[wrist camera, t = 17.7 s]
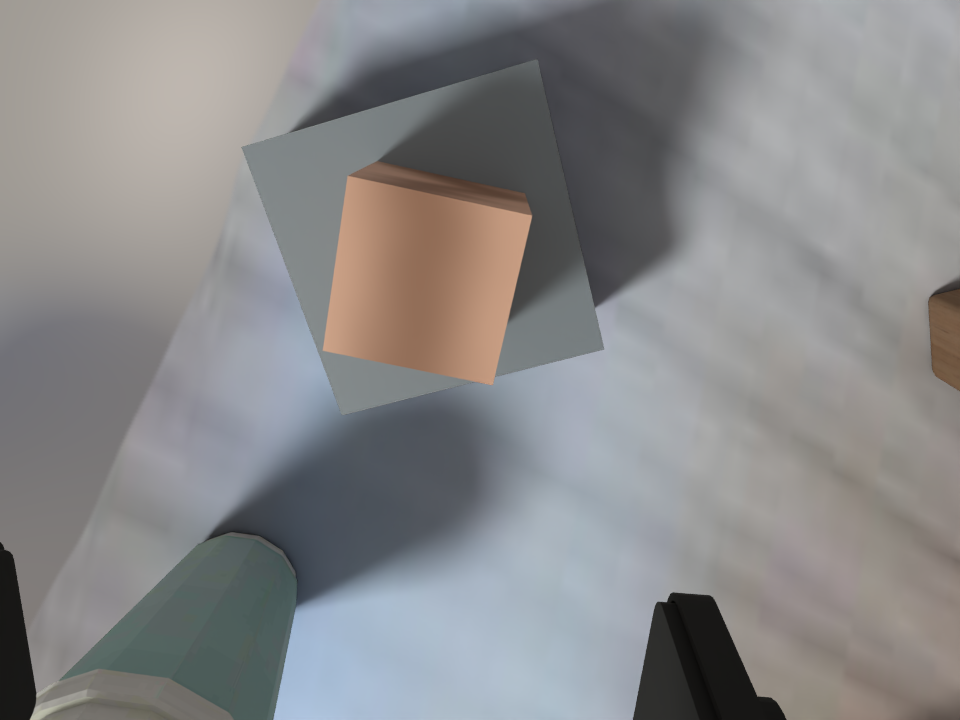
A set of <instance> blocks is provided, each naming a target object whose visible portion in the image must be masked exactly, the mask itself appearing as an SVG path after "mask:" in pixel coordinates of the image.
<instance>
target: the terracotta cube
mask: <svg viewBox="0 0 960 720" xmlns="http://www.w3.org/2000/svg"><path fill="white" fill-rule="evenodd" d="M531 219H532V213H531V210H530V207H529V204H528V201H527V198H526V195H525V193H521V192H517V191H512V190H508V189H503V188H498V187H494V186H489V185H485V184H480V183H475V182H471V181H466V180H462V179H457V178H452V177H448V176H443V175H439V174H434V173H429V172H425V171H420V170H416V169H411V168H407V167H402V166H397V165H393V164H388V163H384V162H379V161H376V162H374V163H372V164H370V165H368V166H366V167H364V168H362V169H360V170H358V171H356V172H354V173H352V174H350V175H348V177H347V184H346V191H345V198H344V205H343V212H342V219H341V226H340V233H339V240H338V247H337V254H336V261H335V268H334V275H333V282H332V289H331V296H330V303H329V310H328V317H327V324H326V331H325V338H324V345H323V351H326V352H331V353H336V354H341V355H346V356H351V357H356V358H361V359H366V360H371V361H376V362H381V363H386V364H391V365H395V366H400V367H405V368H410V369H415V370H420V371H425V372H430V373H435V374H440V375H445V376H450V377H455V378H460V379H465V380H470V381H474V382H479V383H484V384H489V385H493V382H494V378H495V373H496V369H497V365H498V360H499V356H500V352H501V348H502V343H503V339H504V335H505V330H506V326H507V322H508V318H509V313H510V309H511V305H512V300H513V296H514V292H515V288H516V283H517V279H518V275H519V270H520V266H521V262H522V258H523V253H524V249H525V245H526V240H527V236H528V232H529V228H530V223H531Z"/></svg>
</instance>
